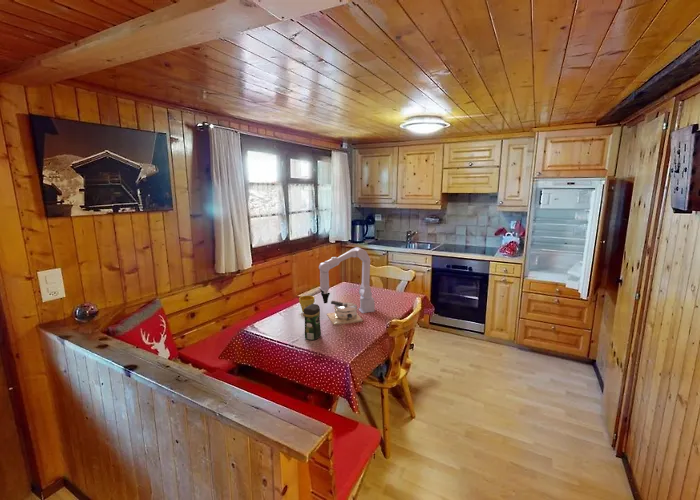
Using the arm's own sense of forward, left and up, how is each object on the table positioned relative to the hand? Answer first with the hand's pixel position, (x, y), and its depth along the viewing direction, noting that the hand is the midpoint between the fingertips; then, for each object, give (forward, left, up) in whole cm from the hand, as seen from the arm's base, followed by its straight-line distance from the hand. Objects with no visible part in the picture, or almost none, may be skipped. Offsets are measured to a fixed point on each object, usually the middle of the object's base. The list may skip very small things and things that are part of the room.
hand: (325, 301), depth 214 cm
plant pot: (+10, -12, -10) cm, 19 cm away
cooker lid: (-11, +5, -4) cm, 13 cm away
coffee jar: (+14, +29, -10) cm, 34 cm away
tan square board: (-11, +6, -10) cm, 16 cm away
